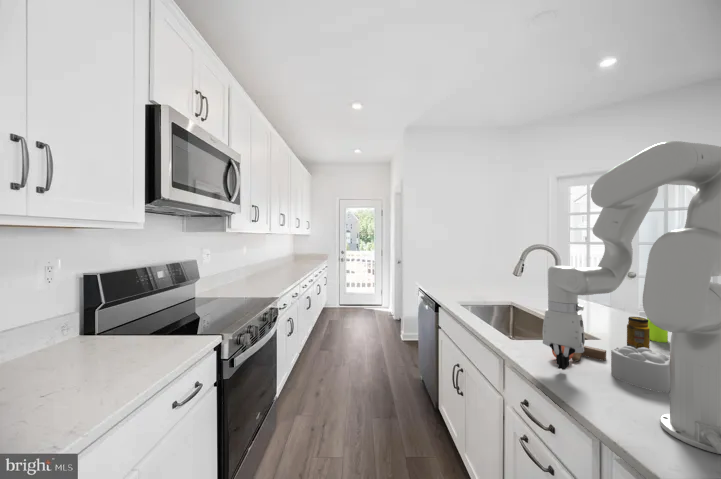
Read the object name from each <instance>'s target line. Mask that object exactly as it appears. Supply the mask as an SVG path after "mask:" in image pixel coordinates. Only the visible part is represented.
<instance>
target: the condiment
mask: <svg viewBox="0 0 721 479" xmlns="http://www.w3.org/2000/svg"><path fill="white" fill-rule="evenodd" d="M627 319H628V321H627V322H628V323H627V324H626V346H631V347H634V348H635V349H638V348H642V347H645V348H648V349H650V343H651V342H650V341H651V340H649V338H650V337H649V334H650V333H649V332H650V329H649V327H648V320H647V318H645V317H641V316H629V317H628V318H627Z"/></svg>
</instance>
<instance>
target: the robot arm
mask: <svg viewBox="0 0 721 479" xmlns="http://www.w3.org/2000/svg"><path fill="white" fill-rule="evenodd" d="M664 185H674V186H690V187H694V188H695V189H696V190H695V193H694V194H693V196H692V198H691V200H690V202H689V203H688V207H687V209H686V210H687V211H686V219H685V224H684V228H679V229H678V228H677V229H674V230H670V231H667V232H666V233H664V234H662V235H661V236H659V237H657V239H656V240H655V242H654V243H653V244H652V246H651V248H650V251H649V253H648V259H647V263H646V271H645V278H644V284H643V292H642V308H643V312H644V314H645V315H646V318H647V317H648V319H649V320H650V321H651V322H652V323H653V324H654V325H655V326H657V327H659V328H660V329H663V330H665V331H668V333H669V332H670V333H671V335H670V341H669V358H670V391H669V413H665V414H661V416H660V417H659V425H660V426H661V427H662V429H663V430H664V431H665V432H667V433H668V434H669V435H671V436H672V437H674V438H676V439H677V440H679V441H681V442H683V443H685V444H688V445H690V446H693V447H695V448H698V449H701V450H704V451H707V452H709V453H714V454H718V455H721V283H717V282H714V281H711V279H712V277H721V146H719V145H714V144H707V143H699V142H697V143H696V142H688V141H682V140H681V141H679V140H670V141H664V142H660V143H657V144H654V145H652V146H649V147H647V148H645V149H644V150H642V151H640V152H638V153H637V154H636V155H634V156H632V157H630V158H628V159H626V160H625V161H623V162H622V163H620V164H618V165H616V166H614V167H613V168H611V169H610V170H608V171H606V172H605V173H603V174H602V175H601V176H599V178H597V179H596V180H595V182H594V183H593V185H592V187H591V190H590V199H591V200H592V203H593V204H595V205H596V206H598V207H600V208H602V209H601V211H600V212H599V215H598V217H597V219H596V221H595V223H594V225H593V227H592V230H591V231H592V234H593V235H594V236H595V237H596V238H598V239H600V240H601V241H602V242H603V245H604V253H603V255H602V257H601V259H600V262H599V263H598V265H597V266H594V267H593V266H591V267H590V266H588V267H573V266H571V265H553V266H550V267H549V268H548V270H547V308H546V309H545V311H544V312H545V313H544V317H543V323H542V344H543V345H545V346H547V347H549V348H551V351H552V350H553V351H554V352H555V354H556V357H555V359H556V360H555V364H556V365H557V368H558V369H559V370H560V369H562V370H563V371H565V370H566V369H568V368H569V367H570V360H569V355H571V354H573V353H583V352H584V347H583V345H584V346H585V341H586V340H585V339H586V338H585V325H584V320H583V315H582V313H581V312H582V311H584V309H585V308H584V307H585V306H584V305H581V304H579V300H578V299H579V296H593V295H602V294H603V295H604V294H610V293H613V292H615V291H616V290H618V289H619V287H620V286H621V285H622V284H623V282H624V281H625V279H626V277H627V275H628V273H629V272H630V269H631V267H632V265H633V246H632V242H633V239H634V237H635V236H636V234H637V232H638V230H639V228H640V227H641V225H642V223H643V222H644V220H645V218H646V216H647V215H648V212H649V211H650V209H651V207H652V206H653V203H654V202H655V200H656V198H657V196H658V193H659V188H660V187H662V186H664ZM580 311H581V312H580ZM561 346H565V348H564V353H563V352H562V348H561Z"/></svg>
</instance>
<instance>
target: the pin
mask: <svg viewBox="0 0 721 479" xmlns="http://www.w3.org/2000/svg"><path fill="white" fill-rule="evenodd" d="M583 346H585V344H584V345H583ZM581 357H582V355H581V353H573V357H572V358H571V360H572V361H574V362H579V361H580V360H581Z"/></svg>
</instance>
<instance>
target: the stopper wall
mask: <svg viewBox="0 0 721 479" xmlns="http://www.w3.org/2000/svg"><path fill="white" fill-rule="evenodd" d="M583 347H584V352H583V353H581V357H582V356H583V357H587V358H592V359H594V360H595V359H596V360H600V361H606V360H607V350H606V349H603V348H597V347H592V346H587V345H584V346H583Z"/></svg>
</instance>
